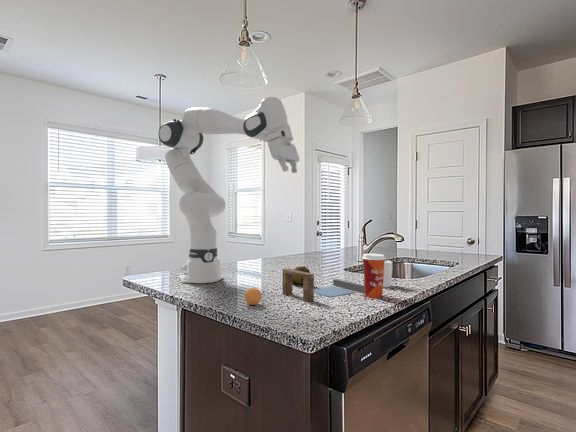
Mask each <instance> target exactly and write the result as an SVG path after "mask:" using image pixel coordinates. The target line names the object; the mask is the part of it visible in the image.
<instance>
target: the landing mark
mask: <svg viewBox="0 0 576 432" xmlns="http://www.w3.org/2000/svg"><path fill="white" fill-rule="evenodd" d="M356 292H357V291H354V290H350V289H346V288H342V287H338V286H334V285H331V286H326V287H325V286H323V287H319V288H318V287H317V288H314V294H317V295H321V296H324V297H328V298H335V297H339V296H345V295H350V294H355V293H356Z"/></svg>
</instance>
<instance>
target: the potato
mask: <svg viewBox="0 0 576 432" xmlns="http://www.w3.org/2000/svg"><path fill="white" fill-rule="evenodd" d="M293 269H294V270H299V271H303V272H308V273H311V271H310V270H309V268H308V267H307V266H296V267H295V268H293ZM293 283H294V284H298V285H303V277H299V276H295V275H292V284H293Z"/></svg>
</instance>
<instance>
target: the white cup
mask: <svg viewBox="0 0 576 432" xmlns="http://www.w3.org/2000/svg"><path fill="white" fill-rule="evenodd" d="M393 264H394V263H393V261H390V260H385V261H384V278H383V288H391V287H392V278H393Z"/></svg>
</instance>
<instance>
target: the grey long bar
mask: <svg viewBox="0 0 576 432" xmlns="http://www.w3.org/2000/svg"><path fill="white" fill-rule="evenodd" d="M332 286H334V287H338V288H341V289H345V290H349V291H353V292H359V293H361V294H365V285H364V284H361V283H356V282H352V281H349V280H343V279H340V278H334V279H332Z"/></svg>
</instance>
